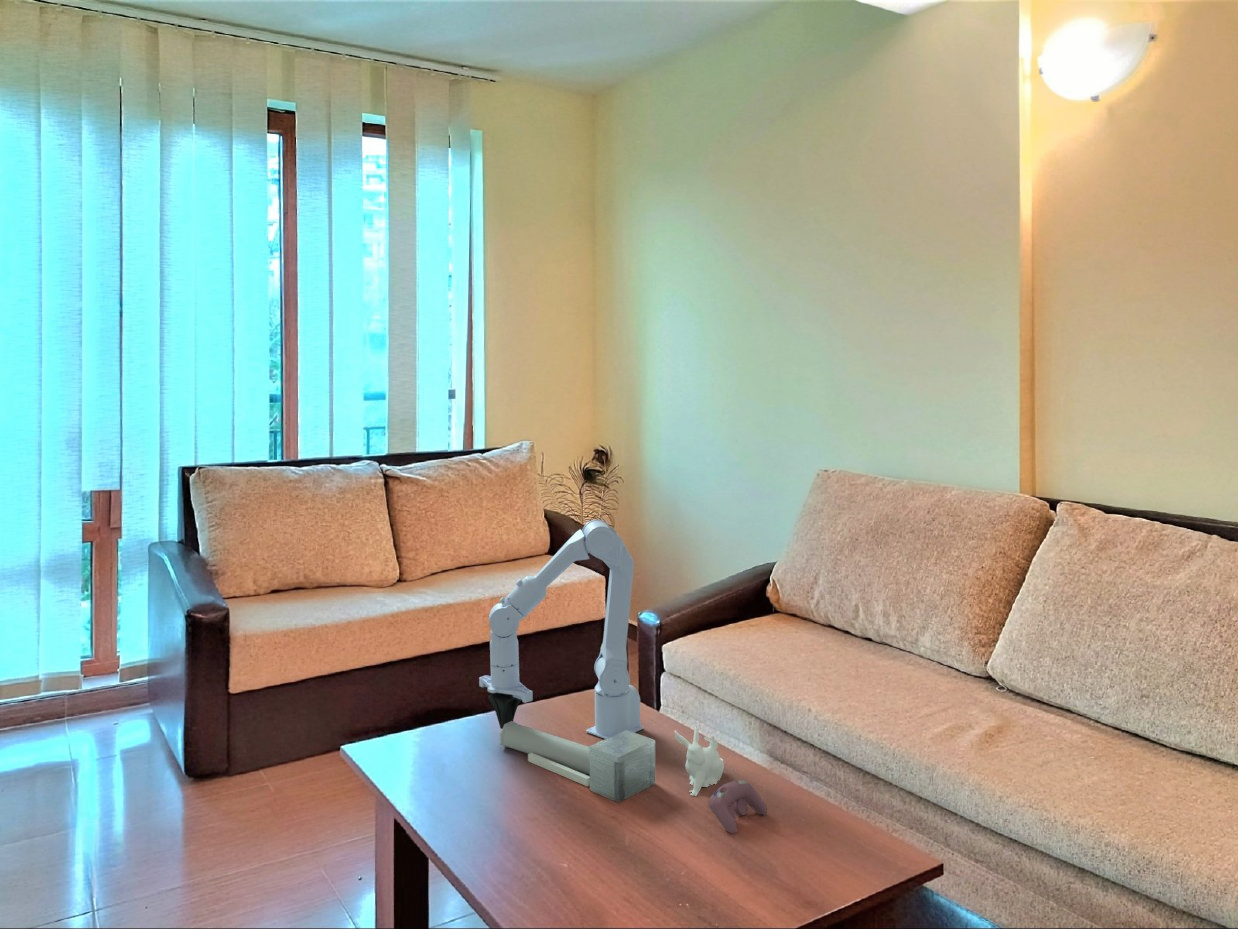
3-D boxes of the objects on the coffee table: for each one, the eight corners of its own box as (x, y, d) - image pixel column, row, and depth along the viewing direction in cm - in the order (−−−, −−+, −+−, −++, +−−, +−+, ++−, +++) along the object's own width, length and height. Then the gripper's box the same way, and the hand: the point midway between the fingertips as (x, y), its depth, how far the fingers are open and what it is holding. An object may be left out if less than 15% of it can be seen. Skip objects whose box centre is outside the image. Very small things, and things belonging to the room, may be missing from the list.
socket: (626, 772, 168) (626, 730, 167) (655, 783, 163) (655, 740, 162) (589, 790, 161) (589, 746, 160) (618, 802, 156) (618, 757, 155)
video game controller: (751, 816, 154) (737, 775, 155) (771, 813, 151) (756, 771, 152) (715, 837, 147) (700, 795, 148) (735, 834, 144) (720, 791, 145)
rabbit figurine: (694, 798, 157) (694, 744, 157) (661, 785, 162) (660, 733, 162) (733, 776, 166) (733, 725, 165) (701, 764, 171) (701, 715, 170)
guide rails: (559, 748, 179) (558, 741, 179) (617, 771, 168) (617, 764, 168) (528, 761, 173) (527, 754, 173) (587, 786, 162) (587, 779, 162)
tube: (618, 752, 168) (520, 720, 183) (601, 752, 164) (502, 720, 179) (613, 781, 167) (514, 747, 182) (596, 782, 163) (497, 748, 178)
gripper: (466, 660, 184) (468, 724, 185) (512, 675, 174) (514, 743, 176) (493, 652, 189) (495, 714, 190) (540, 667, 179) (541, 732, 181)
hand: (506, 727), depth 183 cm, fingers closed
